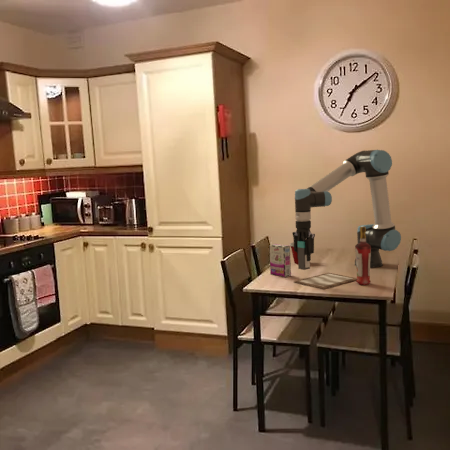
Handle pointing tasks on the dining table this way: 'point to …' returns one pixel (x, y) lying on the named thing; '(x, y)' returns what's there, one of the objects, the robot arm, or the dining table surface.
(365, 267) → the liquor
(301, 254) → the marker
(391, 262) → the dining table surface
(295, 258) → the plastic cup
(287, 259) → the candy bar box
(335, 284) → the striped kitchen towel
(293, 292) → the dining table surface
